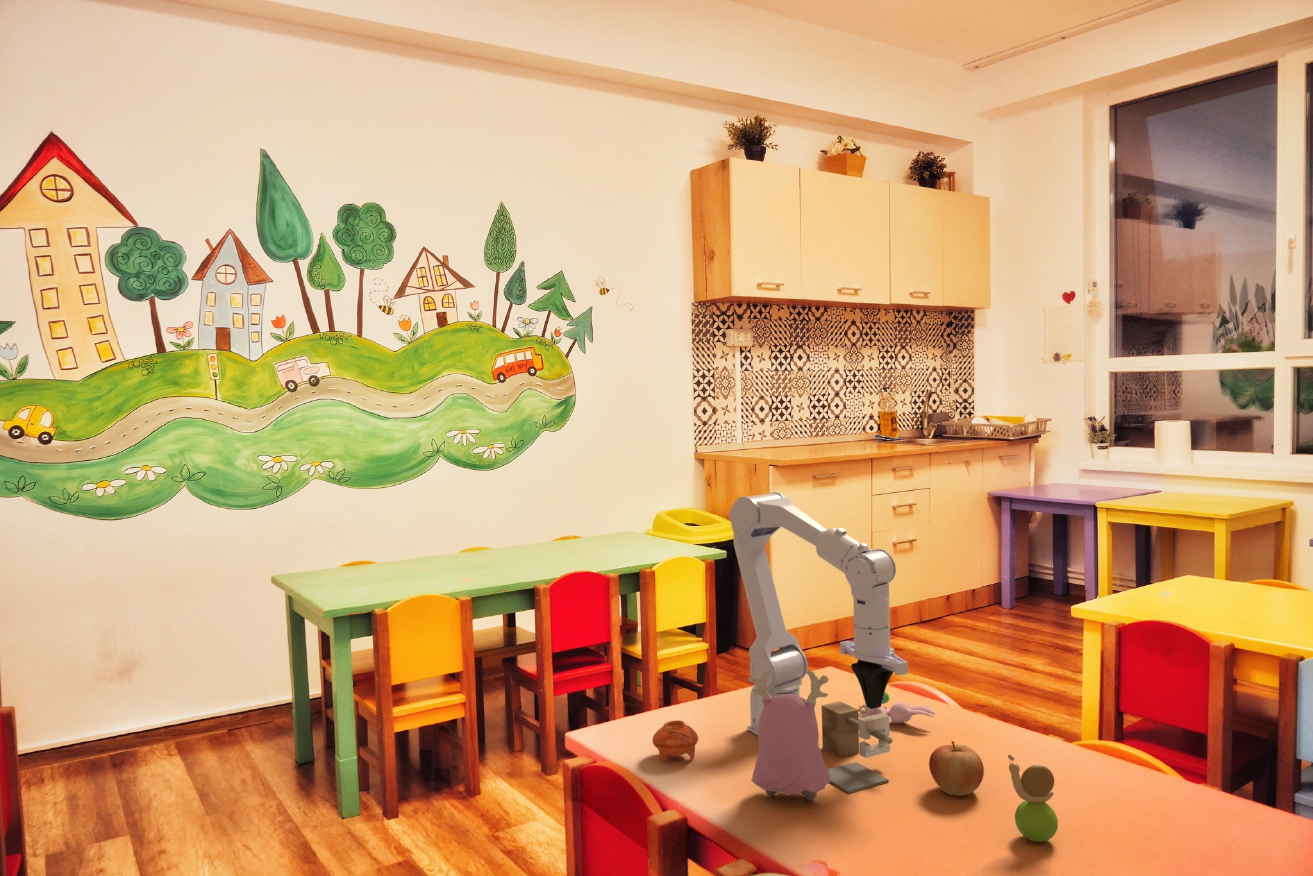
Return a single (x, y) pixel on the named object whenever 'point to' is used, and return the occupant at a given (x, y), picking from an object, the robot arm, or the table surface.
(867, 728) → the link
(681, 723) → the pot
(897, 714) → the rabbit figure
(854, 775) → the mat
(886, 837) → the table surface
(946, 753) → the apple
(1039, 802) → the snail figurine
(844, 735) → the stand
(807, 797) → the toy character
